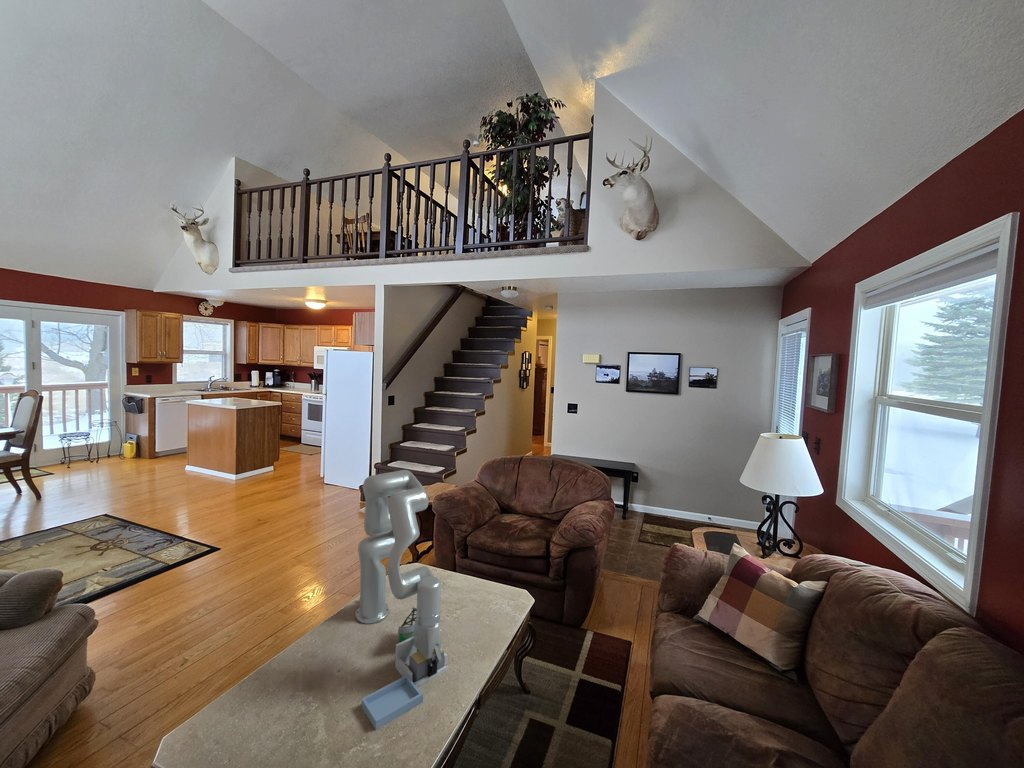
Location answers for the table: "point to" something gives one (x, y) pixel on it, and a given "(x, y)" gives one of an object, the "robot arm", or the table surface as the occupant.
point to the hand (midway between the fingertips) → (427, 668)
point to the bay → (402, 658)
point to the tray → (391, 701)
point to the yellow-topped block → (422, 665)
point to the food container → (408, 626)
